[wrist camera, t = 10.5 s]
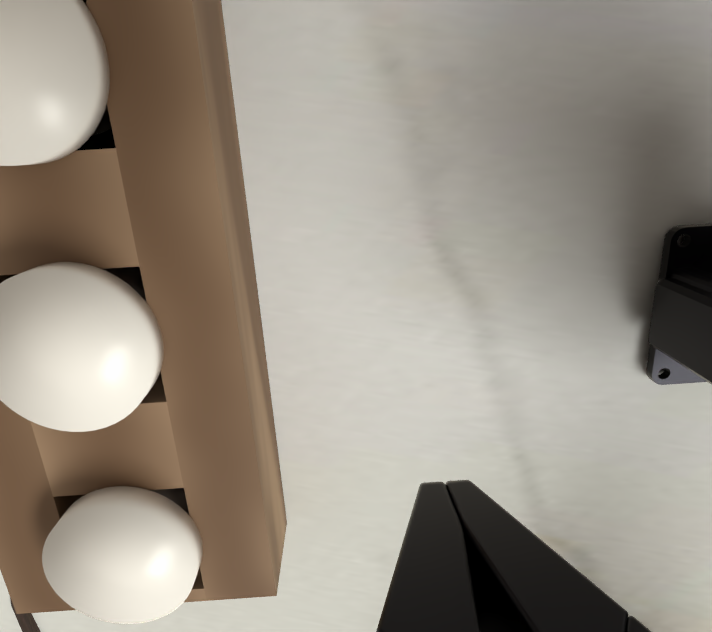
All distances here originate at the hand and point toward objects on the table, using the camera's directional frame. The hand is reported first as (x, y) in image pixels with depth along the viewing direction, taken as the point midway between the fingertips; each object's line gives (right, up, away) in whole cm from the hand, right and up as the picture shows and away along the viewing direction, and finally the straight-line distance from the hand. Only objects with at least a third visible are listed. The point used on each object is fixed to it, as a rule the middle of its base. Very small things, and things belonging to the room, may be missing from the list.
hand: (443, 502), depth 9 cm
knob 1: (-11, +11, +8) cm, 17 cm away
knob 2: (-10, -4, +13) cm, 17 cm away
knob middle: (-10, +3, +11) cm, 15 cm away
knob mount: (-10, +4, +11) cm, 16 cm away
